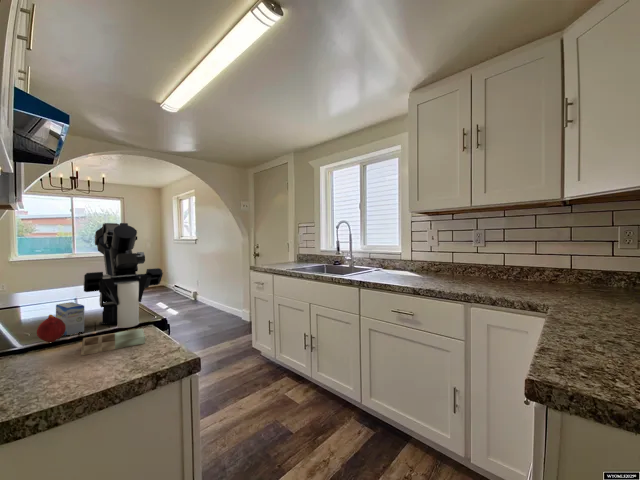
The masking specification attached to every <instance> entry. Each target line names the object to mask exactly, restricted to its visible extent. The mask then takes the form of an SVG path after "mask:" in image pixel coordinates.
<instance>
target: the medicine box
mask: <svg viewBox="0 0 640 480" xmlns="http://www.w3.org/2000/svg"><path fill="white" fill-rule="evenodd" d="M55 317H56V318H59V319H60V320H62V321H63V322H64V324H65V326H66V330H65V333H64V334H63V335H62V336H66V335H70V336H72V335H71V334H74V335H76V334H75V333H79V332H82V333H84V332H85V305H84V304H80V303H76V302H73V301H71V302H64V303H58V304H55ZM79 334H80V333H79Z"/></svg>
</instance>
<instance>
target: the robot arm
mask: <svg viewBox="0 0 640 480" xmlns="http://www.w3.org/2000/svg"><path fill="white" fill-rule="evenodd" d="M137 234H138V230H137V229H135V227H133V226H130V225H129V223H127V222H120V223H115V222H104V223H102V227H100V228H99V229H97V230H96V231H95V234H94V245H95V246H96V249H97V252H99V253H100V254H102V255H103V259H104V260H103V262H104V268H105V274H104V272H103V271H96V272H86V273H84V275H83V292H85V293H91V292H92V293H93V292H99V300H98V301H99V306H100V308H103V310H102V314H101V315H102V316H101V317H102V321H99V322H98V323H99V324H100V325H110V326H111V325H112V326H115V325H116V324H117V305H118V304H119V302H118V296H117V284H118V283H123V282H139V303H141V302H142V299H143V294H144V291H145V289H147V288H149V287H150V286H158V285H160V284H161V281H162V277H163V275H164V272H163V269H161V268H159V267H156V268H146V271H145V273H139V274H138V273H137V272H138V270H139V267H138V265H139V264H140V265H141V264H144V263H145V261H146V256H145V251H137V252H136V253H135V252H133V249H134V248H135V243H136V241H138V236H137Z"/></svg>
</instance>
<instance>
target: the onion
mask: <svg viewBox="0 0 640 480" xmlns="http://www.w3.org/2000/svg"><path fill="white" fill-rule="evenodd" d="M65 330H66V326H65V324H64V322H63V321H62V320H60V319H59V318H56V316H54V315H53V314H49V315H48V318H46V319H45V320H43V321H42V322H41V323H40V324H39V325H38V327H37V330H36V335H37V338H39V339H40V340H42V341H44V342H46V343H48V344H51V343H50V342H53V343H54V342H56V341H58V340H59V339H60V338H61V337H62V336H64V335H63V334H64V333H65Z"/></svg>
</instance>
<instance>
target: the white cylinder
mask: <svg viewBox="0 0 640 480" xmlns="http://www.w3.org/2000/svg"><path fill="white" fill-rule="evenodd" d="M117 296H118V302H119V304H118V305H117V328H119V329H125V328H132V327H136V326H138V325H140V323H139V322H140V321H139V320H140V315H139V313H140V310H139V309H140V307H139V306H140V304H139V303H140V302H139V282H138V281H136V282H123V283H118V284H117Z"/></svg>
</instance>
